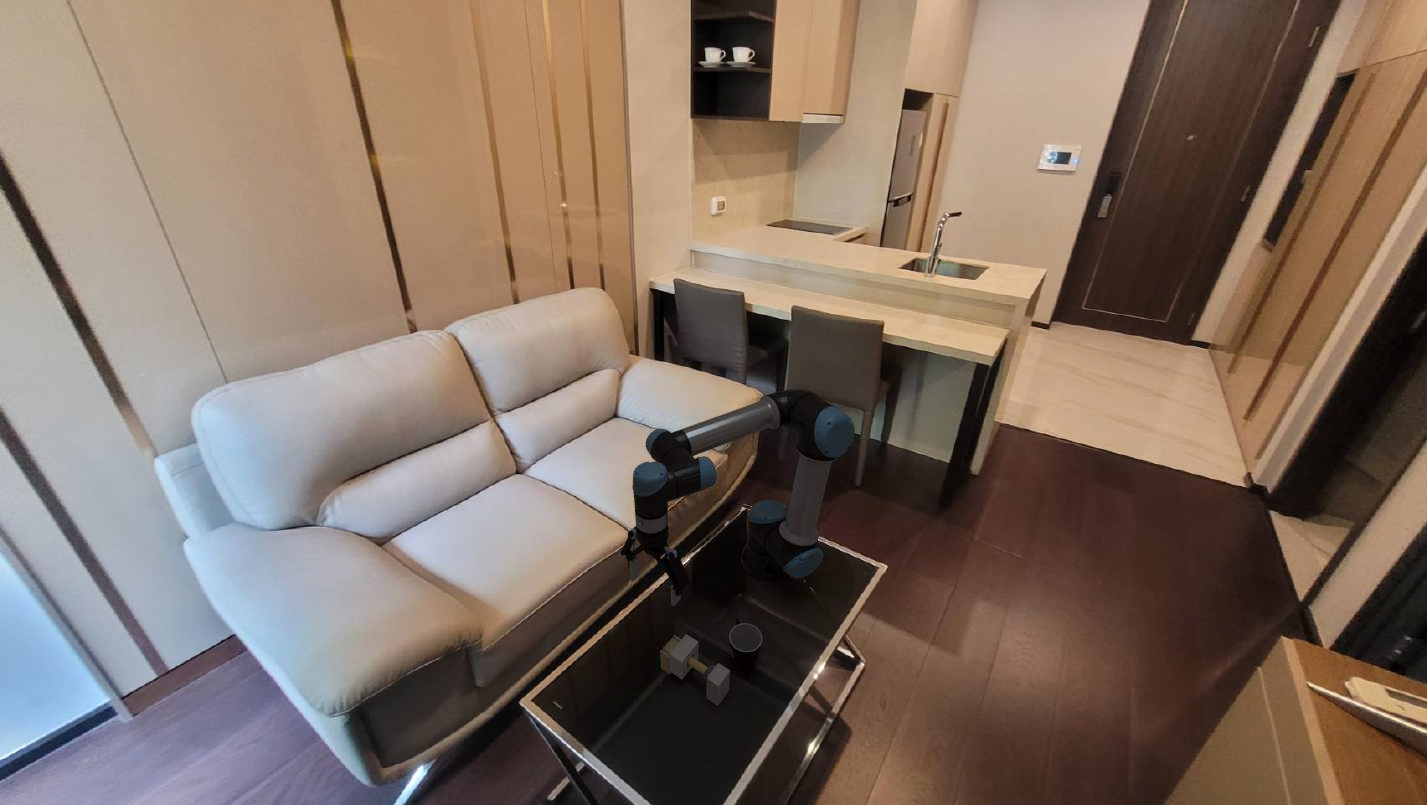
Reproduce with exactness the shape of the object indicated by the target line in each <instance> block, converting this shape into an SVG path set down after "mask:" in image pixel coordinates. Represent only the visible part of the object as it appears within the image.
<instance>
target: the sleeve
mask: <svg viewBox="0 0 1427 805" xmlns="http://www.w3.org/2000/svg"><path fill="white" fill-rule="evenodd" d="M691 656H692V657H693V658H695V659H696V660H698V661H699V641H697V640H696V639H695V638H693V637H692V636H690V635H688V634H687V633H686V634H684V636H683V637H682V640H681V641H680V642H679V643H678V644H677V645H676V646H675V648H674V649H673V650H672V651H671V652H670V653H669V661H670V672H672V673H671V674H673V675H674V676H676V677H678V678H679V679H680V680H683V679H684V678H685V677H686V676H687V674H688V673H689V672H690V671H691V670H692V669H693V667H691V666H690V665H688V664H687V660H688V659H689V658H690V657H691Z"/></svg>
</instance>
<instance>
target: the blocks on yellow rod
mask: <svg viewBox="0 0 1427 805" xmlns="http://www.w3.org/2000/svg"><path fill="white" fill-rule="evenodd" d="M681 640H682V639H681V638H680V637H678V636H677V635H675V634H674V635H673V636H672V638H670V640H669V641H668V642H667V643H666V644H665V646H663V647H662V648H661V649H660V651H659V653H660V654H659V655H660V658H659V659H660V669H661V670H662V671H664V672H665V673H666V674H668V675H671V674H673V673H672V672H670V661H669V653H670V652H671V651H672V650H673V649H674V648H675V646H676V645H677V644H678V643H679V642H680V641H681ZM687 664H688V665H690V666H691V667H692V669H694V670H696V671H697V672H699V673H700V674H702V675H703V677H702V679H703V681H704V682H706V696H705V697H706V699H707V700H708V701H710V702H711V703H712V704H714V705H715V706H717V707H719V705H720V704H721V703H722V701H723V699H725V697H726V696H727V694H728V693H729V691H730V681H731V680H730V678H731V670H730V669H729V668H727V667H725V666H723V665H722V664H720V663H717V664H716V665H713V664H709V665H708V666H707V665H705V664H704V663H702V662H700V661H699V659H698V660H696V659H695V658H693V657H692V656H691V657H690V658H689V659H688V660H687Z"/></svg>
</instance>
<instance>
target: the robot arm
mask: <svg viewBox="0 0 1427 805" xmlns="http://www.w3.org/2000/svg"><path fill="white" fill-rule="evenodd" d="M779 428H788V429H790V430H791V431H793V433H795V434H796V435H797V439H796V443H795V450H796V451H797V453H798V454H799V458H798V463H797V467H796V471H795V476H794V481H793V486H792V490H791V495H790V500H789V506H788V508H787V506H786V505H785V504H784V503H782V502H780V501H778V500H773V499H772V500H770V499H763V500H760V501H757V502H756V503H754V504H753V505H752V506H751V508H750V510H749V515H748V530H747V531H748V532H747V542H746V544H745V545H744V547H743V550H742V552H741V555H740V564H741V567H742V568H743V570H744V571H745V573H747V574H748V575H749V576H751V577H753V578H755V579H757V580H758V579H759V580H763V581H765V580H767V581H769V580H774V579H778V578H779V577H781V576H783V574H784V573H786V574H788V576H790V577H791V578H793V579H803V578H805V577H807V576H809V575H810V574H811V573H813V572H814V571H815V570H816V569H817V568H818V567H819V566H820V565H821V563H822V561H823V559H824V553H823V551H822V549H821V548H820V547H819V546H818V543H819V538H820V533H819V531H818V529H817V524H818V519H819V516H820V511H821V507H822V502H823V499H824V495H825V491H826V488H827V482H828V478H829V474H830V470H831V466H832V462H835V461H837V460H838V459H839V457H842V456H843V455H844V454H846V452H848V448H849V447H851V445H852V444H853V441H854V438H855V434H856V433H855V424H854V420H852V418H851V417H850V416H849V415H848V414H847V413H846V412H845V411H844V410H842V409H841V408H840V407H838V406H835V405H833V404H831V403H830V402H829V401H827V400H825V399H824V398H822V397H820V396H819V395H817V394H816V393H814V392H812V391H809V390H806V389H794V388H792V389H784V390H780V391H774V392H772V393H768V394H766V395H763V396H761V397H760V398H759V401H757V402H754V403H751V404H748V405H746V406H742V407H740V408H737V409H734V410H731V411H729V412H728V411H727V412H726V413H724V414H720V415H718V416H714V417H712V418H709V419H706V420H703V421H700V422H697V423H695V424H692V425H688V426H685V427H684V428H680V429H679V430H676V431H675V430H674V431H673V432H671V431H669V430H667V429H666V428H656V429H655V430H652V431H651V432H650V433H649V434H648V435H647V437H646V440H645V449H646V451H647V453H648V454H649V455H650V457H651V459H652V460H653V461H652V462H650V461H644V462H642V463H640V464H638V465H637V466H636V467H635V468H634V470H633V473H632V484H631V485H632V486H631V487H632V488H631V489H632V493H633V502H634V505H633V506H634V517H635V526H634V527H632V528H631V529H630V530H629V531H627V538H626V540H625V542H624V544H623V546H622V549H621V550H620V553H619V554H620V555H621V556H625V559H626V560H627V568H628V569H629V575H630V576H629V577H630V578H629V579H630V582H632V583H633V582H635V581H636V579H638V578H639V577H640V575H641V572H640V558H639V557H640V556H639V554H641V553H642V552H644V553H645V554H646V555H648V556H651V557H652V558H653V559H655V561H656V562H657V564H658V565H661V568H662V569H663V570H664V572H665V574H666V576H667V577H668V579H669V580H670V582H671V585H670V605H671V606H672V607H675V606H676V605H677V604H678V603H679V602H680V600H681V597H682V596H681V595H682V593H683V590H684V589H685V588H686V587H688V585H689V584H690V583H691V581H690V578H689V576H688V574H687V572H686V569H685V566H684V565H683V561H682V559H681V557H680V550H679V548H678V547H675V548H671V547H669V544H668V539H669V535H670V533H669V532H670V531H669V530H670V529H669V502H671V501H672V502H673V501H675V500H678V499H681V498H683V497H687V496H690V495H694V494H696V493H700V492H702V491H704V490H706V489H709V488H711V487H713V486H714V485H715V484H716V482H717V475H718V474H717V469H716V466H715V463H714V462H713V460H712V459H711V458H710V457H709V456H705V455H702V456H697V455H699V454H702V453H705V452H707V451H711V450H713V449H716V448H718V447H721V446H724V445H726V444H728V443H732V442H734V441H737V440H739V439H742V438H744V437H747V436H750V435H753V434H755V433H758V432H760V431H764V430H766V429H771V430H776V429H779ZM695 456H696V457H695ZM636 540H637V542H638V543H639V545H638V546H637V547H636V548H635V549H633V550H632V547H633V546H634V544H635V541H636ZM662 556H663V557H662Z"/></svg>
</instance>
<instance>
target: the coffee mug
mask: <svg viewBox="0 0 1427 805" xmlns="http://www.w3.org/2000/svg"><path fill="white" fill-rule="evenodd" d="M735 623H736V625H734V626H733V627H732V628H731V629H730V631H729V636H728V639H729V646H730V654H731V655H730V657H731V663H732V666H733V668H734V669H735V670H736V671H737V672H738V673H741V674H746V673H751V672H753V670H754V669H755V668H756V665H757V661H758V658H759V653H760V650H761V646H762V642H763V634H762V632H761V630H760V629H759V628H758V627H757V626H756V625H754V624H751V623H747V622H744V623H741V621H740V619H739V618H738V617H737V618H736V619H735Z"/></svg>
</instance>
